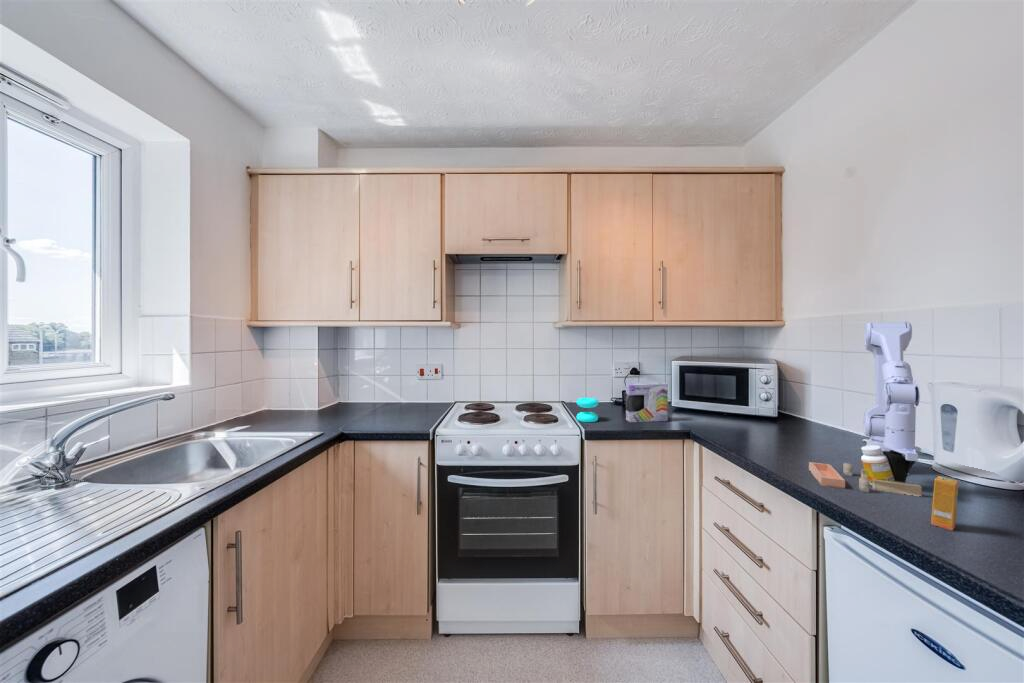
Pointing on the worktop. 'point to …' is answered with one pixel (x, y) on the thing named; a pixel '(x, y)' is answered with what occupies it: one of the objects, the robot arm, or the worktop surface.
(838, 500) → the worktop surface
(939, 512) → the supplement box
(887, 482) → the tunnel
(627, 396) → the cake pan box
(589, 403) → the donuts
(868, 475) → the supplement bottle
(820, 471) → the tray
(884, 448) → the robot arm
